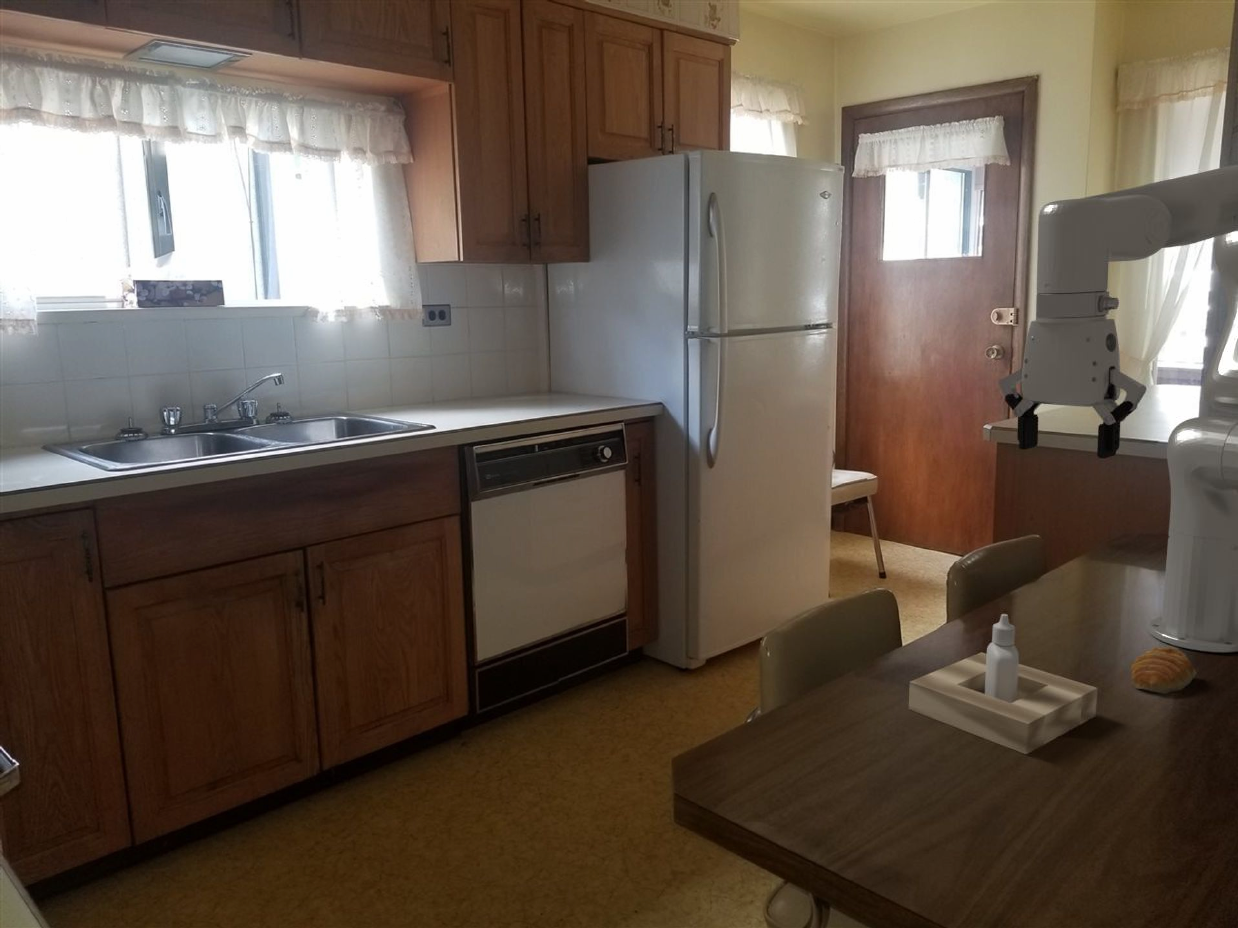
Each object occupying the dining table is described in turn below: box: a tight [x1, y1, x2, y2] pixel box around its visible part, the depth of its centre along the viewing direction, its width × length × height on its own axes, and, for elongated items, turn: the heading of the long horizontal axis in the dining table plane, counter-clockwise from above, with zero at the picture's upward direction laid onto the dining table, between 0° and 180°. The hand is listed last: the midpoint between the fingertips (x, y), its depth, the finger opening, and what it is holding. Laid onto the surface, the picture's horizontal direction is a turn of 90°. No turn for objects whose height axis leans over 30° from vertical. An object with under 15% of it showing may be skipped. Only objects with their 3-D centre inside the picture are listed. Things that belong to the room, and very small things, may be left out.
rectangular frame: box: [908, 652, 1098, 755], centre depth 113 cm, size 15×15×4 cm
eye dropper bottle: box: [985, 613, 1020, 703], centre depth 113 cm, size 4×6×12 cm
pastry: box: [1130, 646, 1197, 695], centre depth 121 cm, size 9×7×4 cm
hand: (1066, 452), depth 115 cm, fingers open, 9 cm apart
